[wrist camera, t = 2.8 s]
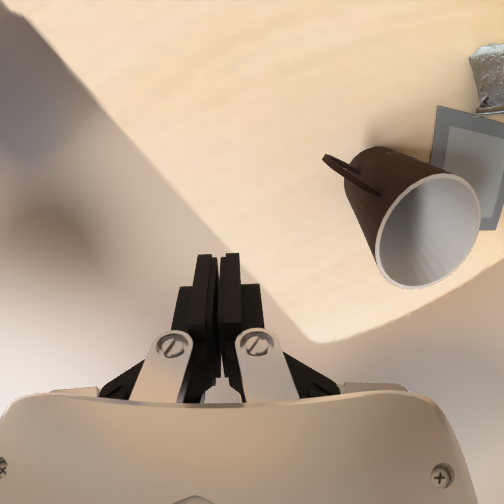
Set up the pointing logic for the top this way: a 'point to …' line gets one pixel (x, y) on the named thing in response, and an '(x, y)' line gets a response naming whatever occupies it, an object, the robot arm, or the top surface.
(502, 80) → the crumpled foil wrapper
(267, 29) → the top surface
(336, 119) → the top surface
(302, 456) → the robot arm
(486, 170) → the mat
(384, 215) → the coffee mug
